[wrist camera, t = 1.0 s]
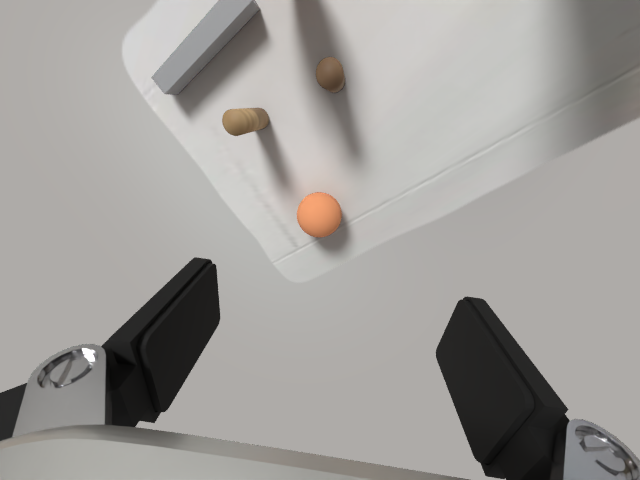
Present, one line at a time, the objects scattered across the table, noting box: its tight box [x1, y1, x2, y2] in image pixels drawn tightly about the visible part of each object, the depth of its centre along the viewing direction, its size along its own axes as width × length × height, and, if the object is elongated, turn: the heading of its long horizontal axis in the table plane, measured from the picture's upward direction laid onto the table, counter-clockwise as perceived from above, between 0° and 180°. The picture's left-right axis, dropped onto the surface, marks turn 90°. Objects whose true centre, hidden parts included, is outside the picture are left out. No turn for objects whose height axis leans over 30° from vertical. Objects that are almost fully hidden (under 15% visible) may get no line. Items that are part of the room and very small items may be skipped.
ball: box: [297, 192, 342, 237], centre depth 34 cm, size 6×6×6 cm
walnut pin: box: [316, 57, 345, 93], centre depth 26 cm, size 2×2×8 cm
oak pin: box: [222, 108, 269, 136], centre depth 29 cm, size 2×2×8 cm
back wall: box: [151, 0, 260, 95], centre depth 28 cm, size 14×2×2 cm, turn 124°
